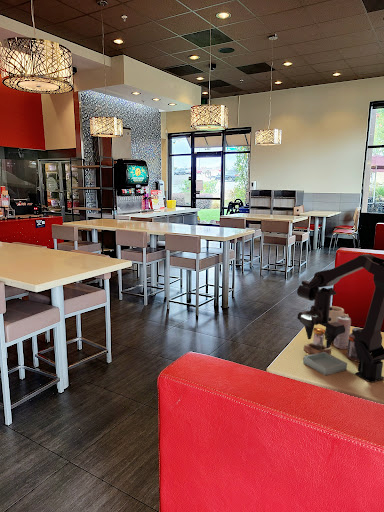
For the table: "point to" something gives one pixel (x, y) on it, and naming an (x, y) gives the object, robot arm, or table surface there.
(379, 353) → the robot arm
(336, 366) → the tray
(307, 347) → the wooden square frame
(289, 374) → the table surface
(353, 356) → the supplement bottle
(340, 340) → the energy drink
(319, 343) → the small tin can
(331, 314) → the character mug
